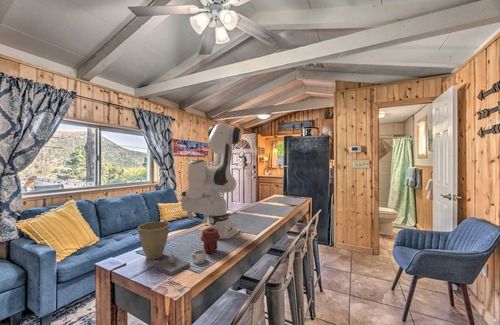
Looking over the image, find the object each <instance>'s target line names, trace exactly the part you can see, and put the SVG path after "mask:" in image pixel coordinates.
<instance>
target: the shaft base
mask: <svg viewBox="0 0 500 325" xmlns="http://www.w3.org/2000/svg"><path fill="white" fill-rule="evenodd" d="M190 266H191V262H189V261H186V260H184V259H181V258H178V257H175V253H169V254H168V257H167V258H165V259H163V260H160V261H158V262H156V263H154V264H153V268H154V269H157V270H159V271H161V272H163V273H165V274H167V275H169V276H173V275H175V274H177V273H179V272H181V271H183V270H185V269H187V268H188V267H190Z"/></svg>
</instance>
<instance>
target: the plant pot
mask: <svg viewBox="0 0 500 325" xmlns="http://www.w3.org/2000/svg"><path fill="white" fill-rule="evenodd" d="M169 230H170V223H169V222H168V221H152V222H151V221H150V222H146V223H142V224H140V225H138V227H137V231H138V232H137V233H138V237H139V241H140V245H141V248H142V251H143V253H144V255H145V257H146V259H147V260H156V259H159V258H162V257H163V254H164V251H165V248H166V244H167V241H168V237H169Z"/></svg>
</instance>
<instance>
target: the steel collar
mask: <svg viewBox="0 0 500 325" xmlns="http://www.w3.org/2000/svg"><path fill="white" fill-rule="evenodd" d="M206 254H207V253H206V252H205V250H204V249H196V250H194V251H192V253H191V259H192V264H197V265H198V264H200V265H201V264H203V263H205V262H206V260H207V259H206V258H207V257H206Z"/></svg>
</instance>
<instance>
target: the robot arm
mask: <svg viewBox="0 0 500 325" xmlns="http://www.w3.org/2000/svg"><path fill="white" fill-rule="evenodd" d="M207 136H208V140H207V147H208V148H209V150H210V151H211V152H213V153H214V154H215V155H214V158H213V159H214V160H213V163H212V165H210V166H209V165H207V164H206V162H205V159H192V160H190V161H189V162H188V165H187V182H188V185H187V189H186V190H183V191H181V193H180V196H181V198H180V203H181V204H180V206H181V210H182V211H185V212H186V213H187V215H188V220H189V221H191V222H192V221H194V219H195V217H194V215H193V213H195V214H200V215H201V214H202V215H203V219H201V220H202V221H201V222H202V224H207V223H208V227H207V228H209V227H213V228H216V229H218V234H219V235H220V239H219V240H223V239H231V238H232V237H234V236H235V235H236V234H238V233H239V232H240V229H239V228H237V227H236V222H235V221H233V220H232V219H231V218H230V217H231V216H232V213H231V212H227V209H228V208H227V201H226V198H224V197H222V196H221V194H220V193H224V194H225V193H226V194H227V193H232V192H234V191H235V190H236V187H237V180H236V178H235V177H234V176H233V174H232V172H231V161H232V157H233V156H232V155H233V148H234V146H236V145H238V144H239V143H240V142H241V139H242V136H243V134H242V129H241V128H240V127H238V126H232V125H228V124H227V125H226V123H222V122H219V123H217V124H213V125H210V126H209V128H208V130H207Z"/></svg>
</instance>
